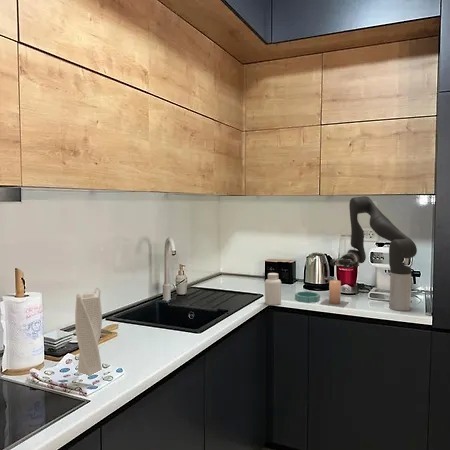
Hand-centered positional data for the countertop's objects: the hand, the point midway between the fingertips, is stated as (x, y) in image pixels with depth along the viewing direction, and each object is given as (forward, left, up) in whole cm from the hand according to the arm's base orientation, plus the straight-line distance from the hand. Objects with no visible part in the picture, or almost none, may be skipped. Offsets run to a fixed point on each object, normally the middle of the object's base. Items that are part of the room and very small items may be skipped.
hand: (341, 265), depth 223 cm
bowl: (+14, +11, -18) cm, 25 cm away
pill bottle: (+27, +25, -18) cm, 41 cm away
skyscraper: (+38, +133, -18) cm, 140 cm away
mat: (0, +11, -18) cm, 21 cm away
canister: (0, +11, -17) cm, 21 cm away
